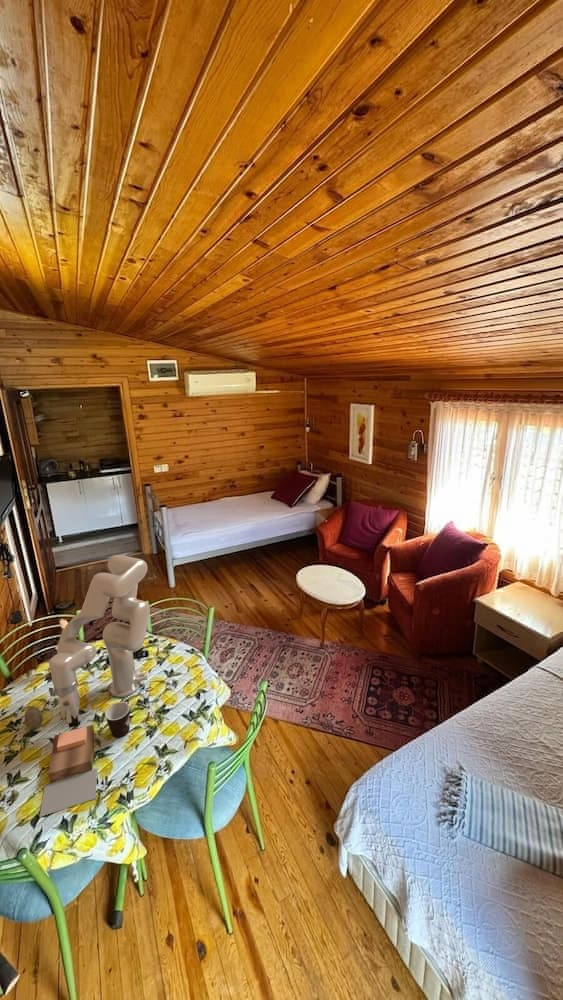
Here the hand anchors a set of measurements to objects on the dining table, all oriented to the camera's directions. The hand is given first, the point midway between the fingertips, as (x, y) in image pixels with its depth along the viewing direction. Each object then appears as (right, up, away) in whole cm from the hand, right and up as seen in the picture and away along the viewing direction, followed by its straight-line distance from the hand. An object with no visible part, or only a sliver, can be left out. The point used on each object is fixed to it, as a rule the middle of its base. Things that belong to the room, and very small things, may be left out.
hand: (73, 724), depth 153 cm
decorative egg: (-17, -4, +5) cm, 18 cm away
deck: (+4, -7, -7) cm, 11 cm away
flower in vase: (-21, +6, +35) cm, 41 cm away
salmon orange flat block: (+2, -3, -6) cm, 7 cm away
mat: (+9, -11, -19) cm, 24 cm away
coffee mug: (+17, -4, +4) cm, 18 cm away
